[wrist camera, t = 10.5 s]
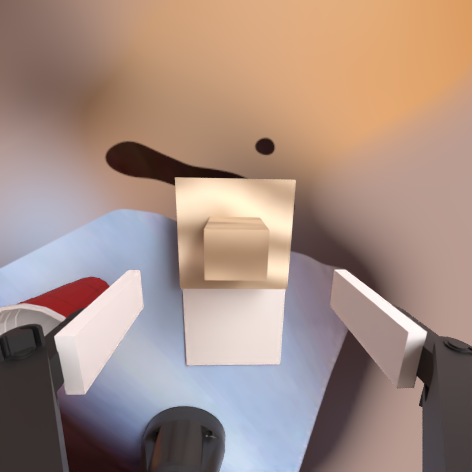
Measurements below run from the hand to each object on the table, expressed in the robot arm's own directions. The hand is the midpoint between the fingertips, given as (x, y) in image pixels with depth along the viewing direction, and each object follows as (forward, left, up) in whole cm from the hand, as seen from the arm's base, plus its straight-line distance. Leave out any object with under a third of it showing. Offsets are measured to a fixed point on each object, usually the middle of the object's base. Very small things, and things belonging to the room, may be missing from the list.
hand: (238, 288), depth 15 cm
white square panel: (-16, 0, -19) cm, 25 cm away
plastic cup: (-11, +22, -19) cm, 31 cm away
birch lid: (0, 0, -14) cm, 14 cm away
